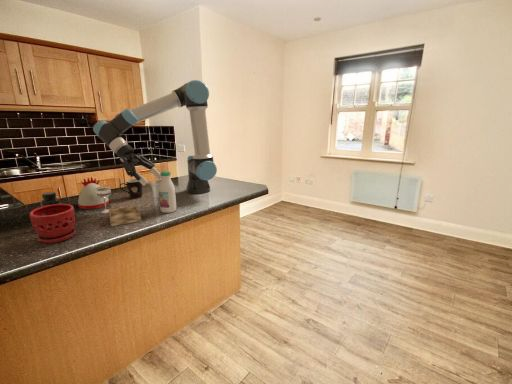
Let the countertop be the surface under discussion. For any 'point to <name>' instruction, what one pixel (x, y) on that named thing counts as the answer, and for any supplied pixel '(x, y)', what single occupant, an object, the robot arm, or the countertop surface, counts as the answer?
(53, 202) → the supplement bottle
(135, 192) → the coffee mug
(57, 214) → the plant pot
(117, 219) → the wooden tray
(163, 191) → the milk bottle
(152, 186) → the countertop surface
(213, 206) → the countertop surface
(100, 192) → the wineglass
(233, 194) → the countertop surface
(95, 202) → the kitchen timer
